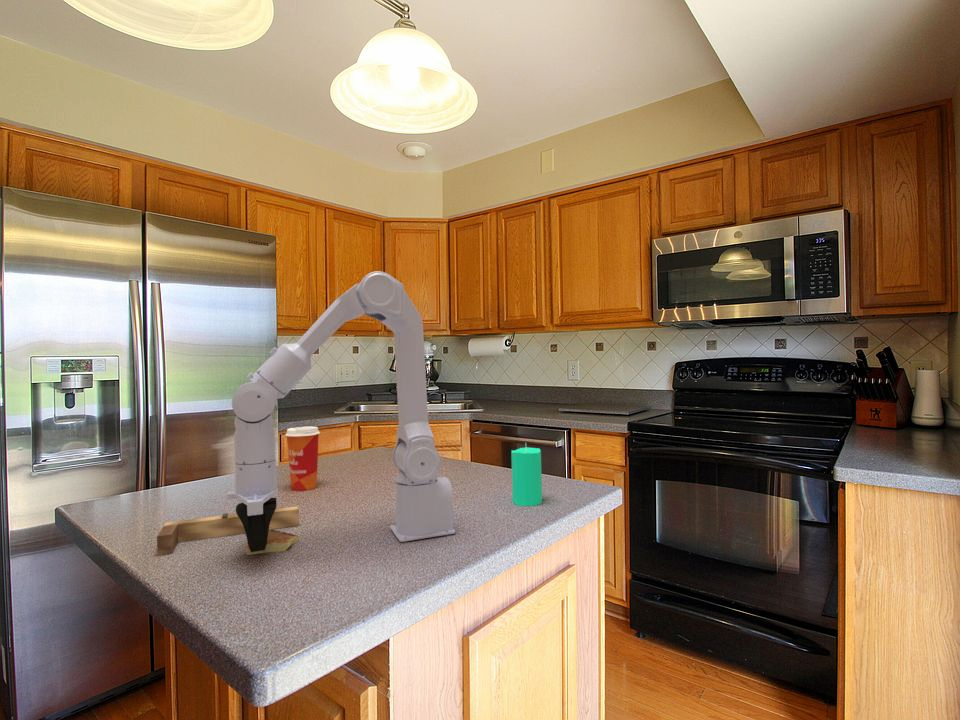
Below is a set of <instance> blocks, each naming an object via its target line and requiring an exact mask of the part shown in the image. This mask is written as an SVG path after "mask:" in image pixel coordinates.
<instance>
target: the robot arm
mask: <svg viewBox="0 0 960 720" xmlns="http://www.w3.org/2000/svg"><path fill="white" fill-rule="evenodd" d="M363 315H365V316H367V317H370V318H372V319H375V320H378V321H379V322H380V323H382V324H383V325H384V326H385V327H387V329H389V330H391V332H392V333H393V341H394V342H393V345H394V361H395V379H396V392H397V393H396V397H397V411H398V413H397V414H398V426H397V430H396V443H395V445H394V448H393V450H392V461H393V463H394V466H395V467H396V468H397V469H398V472H397V474H396V476H395V477H394V486H395V487H394V492H395V494H394V496H395V524H391V525H389V528H390V530H391V531H392V533H393V534H394V535H395V537H396V539H397V540H398V542H400V543H403V542H404V543H405V542H409V541H415V540H422V539H428V538H434V537H435V538H436V537H440V536H447V535H453V534H455V533H456V530H455V526H454V525H455V524H454V523H455V521H454V517H455V516H454V494H453V492H454V491H453V486H452V483H451V481H450V479H449V478H448V477H446V476H440V477H438V475H439V474H438V473H439V471H440V468H441V463H442V462H441V461H442V459H441V456H440V453H439V451H438V450H437V448H436V445H435V436H434V434H433V430H432V429H431V426H430V422H429V411H428V410H429V409H428V408H429V407H428V394H427V378H426V377H427V373H426V358H425V357H426V356H425V338H424V322H423V317H422V315H421V313H420V312H419V311H418V309H417V307H416V306H415V305H414V302H413V301H412V300H411V298H410V297H409V295H408V293H407V291H406V288H405V285H404V284H403V283H402V282H400V281H399V280H398V279H396V278H395V277H393V276H392V275H390V274H389V273H386V271H385V272H384V271H380V270H379V271H377V270H376V271H372V272H369V273H367V274H366V275H365V276H364V277H363V278H362V279H361V281H360V282H358V283H355V284H354V285H353V286H351V287H350V288H349V289H347V290H346V291H345V292H344V293H343V294H341V295H340V296H339V297H337V298H336V299H335V300H333V302H332V303H331V304H330V306H328V307H327V309H326V310H325V311H324V312H323V313H322V314H321V315H320V316H319V318H318V319H316V321H315V322H314V323H312V325H311V326H310V327H309V329H307V330H306V332H304V334H303V335H302V336H301V337H300V338H299V339H298V341H296V343H283V344H281V345H280V346H279V347H278V348H277V347H275V346H274V347H273V348H272V349H271V350H270V351H269V352H268V354H269V355H270V356H269V358H268V359H266V361H265V362H263V364H262V365H261V366H259V368H258V369H257V370H256V371H255V372H254V373H253V372H252V371H251V372H250V373H249V374H248V375H247V376H246V378H247V379H248V380H249V382H245V383H244V384H241V385H239V386H238V388H237V390H236V391H235V392H234V394H233V396H232V400H231V407H232V410H233V412H234V414H235V415H236V416H235V419H234V422H233V423H234V428H235V431H234V434H233V438H234V439H233V441H234V449H233V450H234V472H235V473H234V474H235V475H234V479H235V481H234V482H235V490H230V491H228V492H227V493H226V499H235V500H237V501H239V503H238V504H237V505H236V506H235V514H237V515H238V517H239V518H240V520H241V522H242V524H243V526H244V529H245V533H244V534H245V536H246V542H247V544H248V546H249V549H250V552H256V551H263V550H265V548H266V544H267V538H268V531H269V525H270V521H271V518H272V516H273V514H274V512H275V509H277V498H276V497H275V496H277V494H278V493H279V489H278V486H277V466H276V465H277V463H276V462H277V461H276V431H275V429H274V425H273V423H274V422H273V419H274V418H273V412H274V410H275V406H276V400H278V399H284V398H285V397H286V396H287V395H288V394H289V393H290V392H291V391H292V390H293V388H295V386H296V385H297V384H298V383H299V382H300V381H301V380H302V379H303V378H304V377H305V376H306V375H307V374H308V373H309V371H310V370H311V369H312V359H311V357H312V356H313V354H314V353H316V352H317V351H318V350H319V349H320V347H322V346H323V345H324V344H325V342H327V341H328V340H329V338H331V336H333V334H334V333H336V332H337V331H338V329H339V328H341V326H342V325H344V324H345V323H346V322H348V321H352V320H355V319H357V318H360V317H362V316H363Z"/></svg>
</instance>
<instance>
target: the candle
mask: <svg viewBox="0 0 960 720" xmlns="http://www.w3.org/2000/svg"><path fill="white" fill-rule="evenodd" d="M525 445H527V442H525ZM510 454H511V483H512V484H511V489H512V493H511V494H512V497H511V498H512V503H513V504H514V505H517V506H522V507H534V506H538V505H541V504H542V503H543V489H542V488H543V487H542V485H543V483H542V481H543V480H542V479H543V478H542V450H541V449H540V447H539V448H537V447H527V446H526V447H519V448H517V449H515V450H514V449H513V450H512V449H511V453H510Z"/></svg>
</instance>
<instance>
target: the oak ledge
mask: <svg viewBox="0 0 960 720" xmlns="http://www.w3.org/2000/svg"><path fill="white" fill-rule="evenodd" d="M299 510H300V509H299V506H298V505H297V506H290V507H280V508H276V509H275V512H274V514H273V516H272V518H271V521H270V525H269V530H276V529H285V528H292V527H299V526H300V515H299V514H300V512H299ZM240 534H241V535H242V534H246V533H245V529H244V526H243V524H242V522H241V520H240V518H239V517H238V515H237V513H233V514H232V513H231V514H229V513H228V512H227V513H226V512H225V513H222V515H217V516H215V515H214V516H209V517H208V516H207V517H199V518H191V519H185V520H183V519H182V520H177V521H176V520H175V521H168V522H165V523H164V525H163V527H162V528H161V530H160V531H159V532H158V534H157V535H156V547H157V548H156V550H157V553H156V554H157V556H158V557H159V556H163V555H164V556H165V555H166V556H167V555H171V554H173V553H174V551H175V549H176V547H177V546H178V543H183V542H189V541H197V540H204V539H205V540H206V539H211V538H212V539H213V538H218V537H226V536H233V535H240Z"/></svg>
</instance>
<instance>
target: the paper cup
mask: <svg viewBox="0 0 960 720" xmlns="http://www.w3.org/2000/svg"><path fill="white" fill-rule="evenodd" d="M319 434H321V433H320V430H319V427H318V426H312V425H311V426H297V427H296V426H295V427H290V428H287V429H286V433H285V435H284V436H285V437H286V444H287V455H288V465H289V466H288V467H289V477H290V478H289V479H290V486H291V487H290V488H291V490H292V491H295V492H305V491H310V490H314V489H316V488H317V485H318V465H319V464H318V463H319V462H318V460H319Z"/></svg>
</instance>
